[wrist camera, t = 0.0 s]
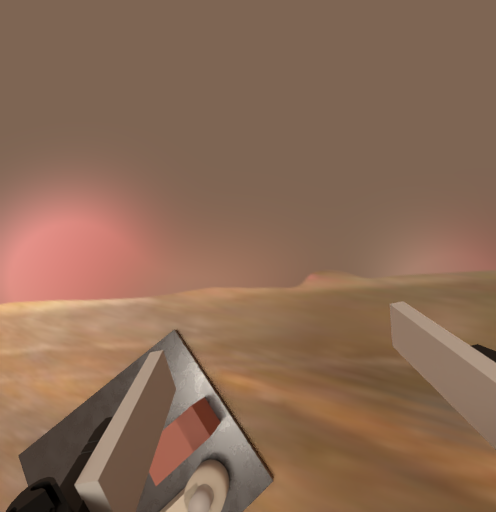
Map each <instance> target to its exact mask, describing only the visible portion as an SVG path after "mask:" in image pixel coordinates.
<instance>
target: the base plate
mask: <svg viewBox="0 0 496 512" xmlns="http://www.w3.org/2000/svg"><path fill="white" fill-rule="evenodd" d="M160 350H163V351H164V354H165V357H166V360H167V363H168V366H169V369H170V372H171V375H172V378H173V381H174V383H175V386H176V392H175V395H174V398H173V401H172V404H171V407H170V410H169V413H168V416H167V419H166V422H165V425H164V428H163V430H164V429H165V428H166V427H167V426H169V425H170V424H171V423H172V422H173V421H174V420H175V419H177V418H178V417H179V416H180V415H181V414H182V413H183V412H185V411H186V410H187V409H188V408H189V407H190V406H191V405H193V404H194V403H196V402H197V401H199V400H200V399H202V398H204V397H205V399H206V400H207V402H208V403H209V405H210V407H211V408H212V410H213V411H214V413H215V414H216V416H217V418H218V419H219V421H220V422H221V423H220V424H219V426H218V427H217V428H216V430H215V431H214V432H213V434H212V435H211V436H210V437H209V438H208V439H207V440H206V441H205V442H204V443H203V444H202V445H201V446H200V447H198V448H197V449H196V450H195V451H194V452H193V453H192V454H191V455H190V456H189V457H188V458H186V459H185V460H184V461H183V462H182V463H181V464H180V465H179V466H178V467H177V468H176V469H175V470H173V471H172V472H171V473H170V474H169V475H168V476H167V477H166V478H165V479H164V480H163V481H161V482H160V483H159V484H158V485H157V486H156V485H155V483H154V481H153V479H152V477H151V475H150V473H148V476H147V479H146V482H145V485H144V488H143V491H142V494H141V497H140V500H139V503H138V506H137V509H136V512H160V511H161V510H162V509H163V508H164V507H165V506H166V505H167V504H168V503H169V502H170V501H171V500H172V499H173V498H174V497H176V496H177V495H178V494H179V493H180V492H181V491H182V490H183V489H184V488H185V487H186V485H187V483H188V481H189V479H190V478H191V476H192V475H193V473H194V472H195V470H196V469H197V467H198V466H199V465H200V464H201V463H202V462H204V461H206V460H210V459H212V460H217V461H219V462H220V463H221V464H222V465H223V466H224V467H225V468H226V470H227V473H228V476H229V489H228V493H227V496H226V499H225V502H224V505H223V508H222V510H221V512H243V511H244V510H245V509H246V508H247V507H248V506H249V505H250V504H251V503H252V502H253V501H254V500H255V499H256V498H257V497H258V496H259V495H260V494H261V493H262V492H263V491H264V490H265V489H266V488H267V487H268V486H269V485H270V484H271V483H272V482H273V475H272V474H271V472H270V471H269V469H268V468H267V466H266V465H265V463H264V462H263V460H262V459H261V457H260V456H259V454H258V452H257V451H256V449H255V448H254V446H253V445H252V443H251V442H250V440H249V439H248V437H247V436H246V434H245V433H244V431H243V430H242V428H241V427H240V425H239V424H238V422H237V421H236V419H235V418H234V416H233V415H232V413H231V412H230V410H229V408H228V407H227V405H226V404H225V402H224V401H223V399H222V398H221V396H220V395H219V393H218V392H217V390H216V389H215V387H214V386H213V384H212V383H211V381H210V380H209V378H208V377H207V375H206V374H205V372H204V371H203V369H202V368H201V366H200V365H199V363H198V361H197V360H196V358H195V357H194V355H193V354H192V352H191V351H190V349H189V348H188V346H187V345H186V343H185V342H184V340H183V339H182V337H181V336H180V334H179V333H178V331H177V330H173V331H172V332H171V333H169V334H168V335H167V336H166V337H164V338H163V339H162V340H161V341H159V342H158V343H157V344H156V345H155V346H153V347H152V348H151V349H150V350H148V351H147V352H146V353H145V354H143V355H142V356H141V357H140V358H138V359H137V360H136V361H135V362H134V363H132V364H131V365H130V366H129V367H127V368H126V369H125V370H124V371H122V372H121V373H120V374H119V375H117V376H116V377H115V378H114V379H112V380H111V381H110V382H109V383H108V384H106V385H105V386H104V387H103V388H101V389H100V390H99V391H98V392H96V393H95V394H94V395H93V396H91V397H90V398H89V399H88V400H87V401H85V402H84V403H83V404H82V405H80V406H79V407H78V408H77V409H75V410H74V411H73V412H72V413H70V414H69V415H68V416H67V417H66V418H64V419H63V420H62V421H61V422H59V423H58V424H57V425H56V426H54V427H53V428H52V429H51V430H49V431H48V432H47V433H46V434H45V435H43V436H42V437H41V438H40V439H38V440H37V441H36V442H35V443H33V444H32V445H31V446H30V447H28V448H27V449H26V450H25V451H24V452H22V453H21V454H20V455H19V459H20V462H21V465H22V468H23V471H24V474H25V478H26V481H27V484H28V487H29V486H30V485H31V484H33V483H35V482H36V481H38V480H40V479H43V478H46V477H53V478H55V480H56V482H57V484H58V485H59V487H60V485H61V484H62V482H63V480H64V479H65V477H66V475H67V474H68V472H69V471H70V469H71V467H72V466H73V464H74V463H75V461H76V459H77V458H78V456H79V455H81V451H82V450H83V448H84V446H85V445H86V444H87V442H88V440H89V438H90V437H91V435H92V434H93V432H94V430H95V429H96V428H97V427H98V426H99V425H100V424H101V423H102V422H103V421H104V420H105V419H106V418H108V417H113V416H114V415H115V413H116V411H117V410H118V408H119V406H120V404H121V403H122V401H123V399H124V397H125V396H126V394H127V392H128V390H129V389H130V387H131V385H132V383H133V382H134V380H135V378H136V376H137V375H138V373H139V371H140V369H141V368H142V366H143V364H144V362H145V361H146V359H147V357H148V355H149V354H150V352H155V351H160Z"/></svg>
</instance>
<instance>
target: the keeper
mask: <svg viewBox="0 0 496 512" xmlns="http://www.w3.org/2000/svg"><path fill="white" fill-rule="evenodd" d="M220 423H221V422H220V421H219V419H218V418H217V416H216V414H215V413H214V411H213V410H212V408H211V407H210V405H209V403H208V402H207V400H206V399H205V397H204V398H202V399H200V400H199V401H197V402H196V403H194V404H193V405H191V406H190V407H189V408H188V409H187V410H186V411H185V412H183V413H182V414H181V415H180V416H179V417H178V418H177V419H175V420H174V421H173V422H172V423H171V424H170V425H169V426H167V427H166V428H165V429H164V430H163V431H162V434H161V437H160V440H159V443H158V446H157V449H156V452H155V455H154V458H153V461H152V464H151V467H150V470H149V473H150V475H151V477H152V479H153V481H154V483H155V485H156V486H157V485H158V484H159V483H160V482H161V481H163V480H164V479H165V478H166V477H167V476H168V475H169V474H170V473H171V472H172V471H173V470H175V469H176V468H177V467H178V466H179V465H180V464H181V463H182V462H183V461H184V460H185V459H186V458H188V457H189V456H190V455H191V454H192V453H193V452H194V451H195V450H196V449H197V448H198V447H200V446H201V445H202V444H203V443H204V442H205V441H206V440H207V439H208V438H209V437H210V436H211V435H212V434H213V432H214V431H215V430H216V428H217V427H218V426H219V424H220Z"/></svg>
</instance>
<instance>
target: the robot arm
mask: <svg viewBox="0 0 496 512" xmlns="http://www.w3.org/2000/svg"><path fill="white" fill-rule="evenodd" d="M390 316H391V330H392V344H393V347H394V348H395V349H396V350H397V351H398V352H399V353H400V354H401V355H402V356H403V357H404V358H405V359H406V360H407V361H408V362H409V363H410V364H411V365H412V366H413V367H414V368H415V369H416V370H417V371H418V372H419V373H420V374H421V375H422V376H423V377H424V378H425V379H426V380H427V381H428V382H429V383H430V384H431V385H432V386H433V387H434V388H435V389H436V390H437V391H438V392H439V393H440V394H441V395H442V396H443V397H444V398H445V399H446V400H447V401H448V402H449V403H450V404H451V405H452V406H453V407H454V408H455V409H456V410H457V411H458V412H459V413H460V414H461V415H462V416H463V417H464V418H465V419H466V420H467V421H468V422H469V423H470V424H471V425H472V426H473V427H474V428H475V429H476V430H477V431H478V432H479V433H480V435H481V436H482V437H483V438H484V439H485V440H486V441H487V442H488V443H489V444H490V445H491V446H492V447H493V448H494V449H495V450H496V351H494V350H491V349H489V348H486V347H483V346H481V345H478V344H477V345H472V346H470V345H468V344H467V343H465V342H464V341H462V340H461V339H459V338H458V337H456V336H455V335H453V334H452V333H450V332H449V331H447V330H446V329H444V328H443V327H441V326H440V325H438V324H437V323H435V322H434V321H432V320H431V319H429V318H428V317H426V316H424V315H423V314H421V313H420V312H418V311H417V310H415V309H414V308H412V307H411V306H409V305H408V304H406V303H405V302H398V303H393V304H390ZM175 392H176V386H175V383H174V381H173V378H172V375H171V372H170V369H169V366H168V363H167V360H166V357H165V354H164V351H163V350H160V351H155V352H150V354H149V355H148V357H147V359H146V361H145V362H144V364H143V366H142V368H141V369H140V371H139V373H138V375H137V376H136V378H135V380H134V382H133V383H132V385H131V387H130V389H129V390H128V392H127V394H126V396H125V397H124V399H123V401H122V403H121V404H120V406H119V408H118V410H117V411H116V413H115V415H114V416H113V417H108V418H106V419H105V420H104V421H103V422H102V423H101V424H100V425H99V426H98V427H97V428H96V429H95V430H94V432H93V434H92V435H91V437H90V438H89V440H88V442H87V444H86V445H85V446H84V448H83V450H82V451H81V455H79V456H78V458H77V459H76V461H75V463H74V464H73V466H72V467H71V469H70V471H69V472H68V474H67V475H66V477H65V479H64V480H63V482H62V484H61V485H60V487H59V485H58V484H57V482H56V480H55V478H53V477H46V478H43V479H40V480H38V481H36V482H35V483H33V484H31V485H30V486H29V487H27V488H26V489H25V490H24V491H22V492H21V493H20V494H19V495H18V496H17V497H16V499H15V500H14V501H13V502H12V503H11V504H10V506H9V507H8V509H7V510H6V512H136V509H137V506H138V503H139V500H140V497H141V494H142V491H143V488H144V485H145V482H146V479H147V476H148V473H149V470H150V467H151V464H152V461H153V458H154V455H155V452H156V449H157V446H158V443H159V440H160V437H161V434H162V431H163V428H164V425H165V422H166V419H167V416H168V413H169V410H170V407H171V404H172V401H173V398H174V395H175Z"/></svg>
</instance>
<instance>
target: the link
mask: <svg viewBox="0 0 496 512" xmlns="http://www.w3.org/2000/svg"><path fill="white" fill-rule="evenodd" d="M228 489H229V476H228V473H227V470H226V468H225V467H224V466H223V465H222V464H221V463H220V462H219V461H217V460H212V459H210V460H206V461H204V462H202V463H201V464H200V465H199V466H198V467H197V469H196V470H195V472H194V473H193V475H192V476H191V478H190V479H189V481H188V483H187V485H186V487H185V488H184V489H183V490H182V491H181V492H180V493H179V494H178V495H177V496H176V497H174V498H173V499H172V500H171V501H170V502H169V503H168V504H167V505H166V506H165V507H164V508H163V509H162V510H161V511H160V512H221V510H222V508H223V505H224V502H225V499H226V496H227V493H228Z"/></svg>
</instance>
